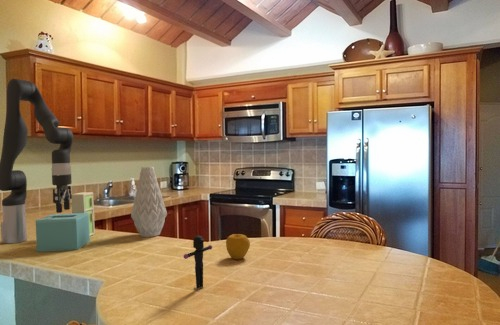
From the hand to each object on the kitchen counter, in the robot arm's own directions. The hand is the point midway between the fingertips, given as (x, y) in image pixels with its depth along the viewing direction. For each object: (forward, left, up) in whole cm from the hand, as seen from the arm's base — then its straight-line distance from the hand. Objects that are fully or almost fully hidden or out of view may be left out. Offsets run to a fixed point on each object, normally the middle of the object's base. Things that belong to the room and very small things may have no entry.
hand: (63, 211), depth 164 cm
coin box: (0, 0, -15) cm, 15 cm away
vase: (+34, +14, -15) cm, 40 cm away
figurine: (+60, -64, -15) cm, 89 cm away
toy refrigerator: (+2, +20, -15) cm, 25 cm away
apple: (+73, -35, -15) cm, 82 cm away
